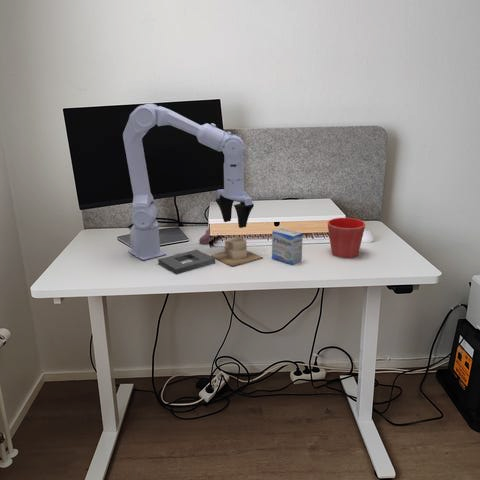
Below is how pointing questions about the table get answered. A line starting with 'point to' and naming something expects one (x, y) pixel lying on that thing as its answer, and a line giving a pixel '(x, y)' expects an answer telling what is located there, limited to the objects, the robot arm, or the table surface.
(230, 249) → the square plug
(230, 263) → the mat
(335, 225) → the flower pot
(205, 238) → the video game controller
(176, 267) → the holder
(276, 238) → the medicine box
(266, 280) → the table surface
